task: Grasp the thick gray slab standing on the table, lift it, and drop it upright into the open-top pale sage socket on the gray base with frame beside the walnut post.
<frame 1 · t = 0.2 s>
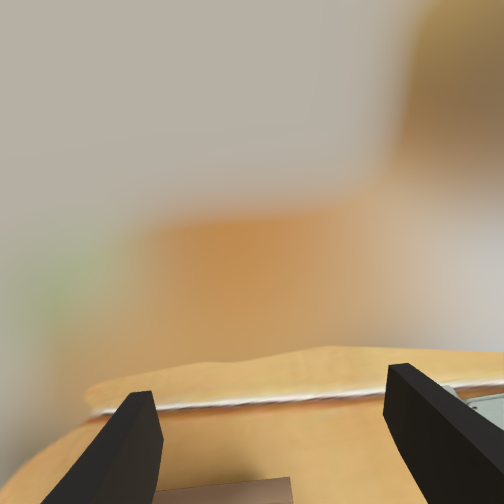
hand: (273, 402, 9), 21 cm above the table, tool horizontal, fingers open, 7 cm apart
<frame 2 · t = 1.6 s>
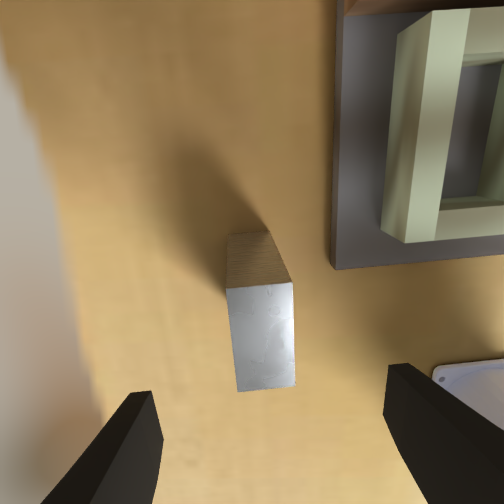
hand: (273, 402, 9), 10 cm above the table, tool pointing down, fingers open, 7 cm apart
gray base with frame: (439, 138, 16), on the table
thick gray slab: (251, 270, 18), on the table
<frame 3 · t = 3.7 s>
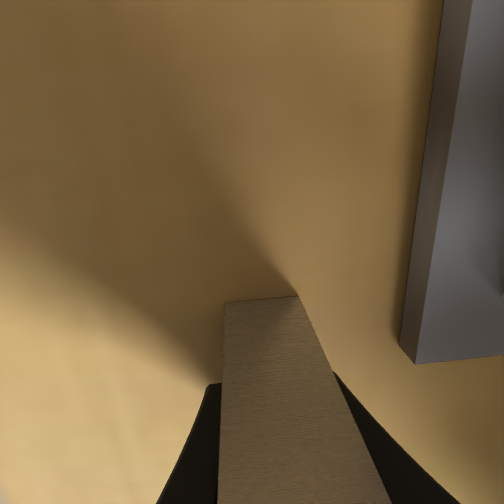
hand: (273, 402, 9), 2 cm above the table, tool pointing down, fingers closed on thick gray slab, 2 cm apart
thick gray slab: (266, 359, 11), on the table, touching gripper
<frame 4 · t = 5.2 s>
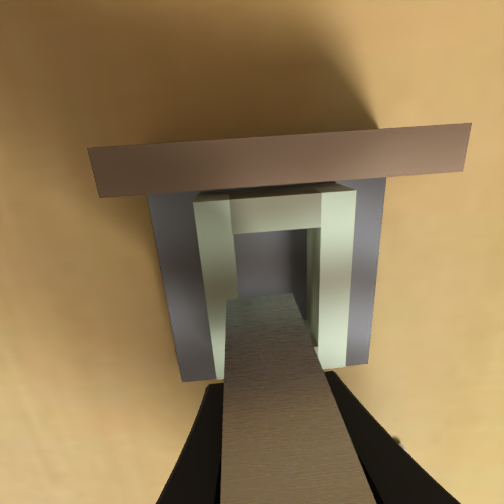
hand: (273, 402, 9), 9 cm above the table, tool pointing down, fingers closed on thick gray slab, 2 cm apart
gray base with frame: (269, 266, 17), on the table
thick gray slab: (263, 349, 12), point 6 cm above the table, touching gripper
when the fingers open (4 cm above the table, at t = 7.1 s): thick gray slab stays where it is, resting on gray base with frame.
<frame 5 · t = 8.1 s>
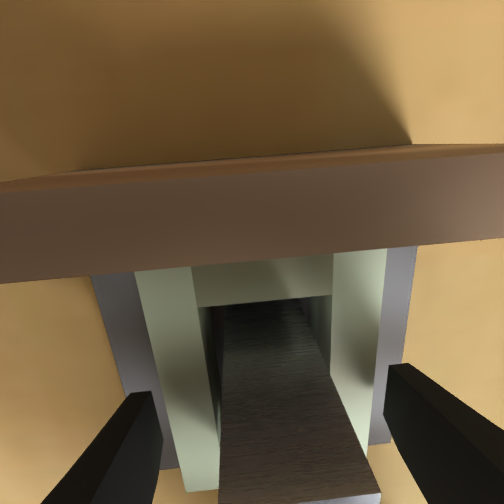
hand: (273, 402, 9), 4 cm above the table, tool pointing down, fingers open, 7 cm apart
gray base with frame: (260, 324, 13), on the table
thick gray slab: (262, 342, 12), point 1 cm above the table, touching gray base with frame
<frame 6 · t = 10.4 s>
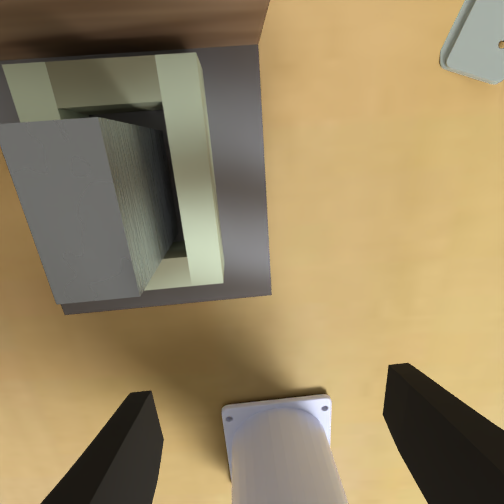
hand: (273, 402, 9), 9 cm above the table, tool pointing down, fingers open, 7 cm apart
gray base with frame: (150, 180, 15), on the table
thick gray slab: (145, 186, 14), point 1 cm above the table, touching gray base with frame
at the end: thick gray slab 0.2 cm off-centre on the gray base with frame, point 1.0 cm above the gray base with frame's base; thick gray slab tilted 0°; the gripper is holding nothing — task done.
